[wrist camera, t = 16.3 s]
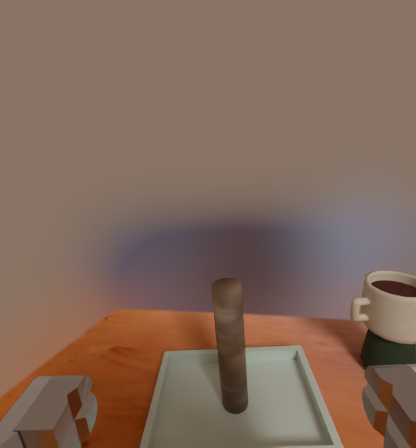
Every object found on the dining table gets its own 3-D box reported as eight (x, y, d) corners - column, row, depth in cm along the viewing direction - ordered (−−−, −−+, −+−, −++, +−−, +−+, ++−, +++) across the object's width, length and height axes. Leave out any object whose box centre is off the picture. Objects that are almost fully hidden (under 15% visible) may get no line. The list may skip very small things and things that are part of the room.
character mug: (407, 345, 39) (419, 266, 36) (449, 387, 32) (469, 294, 29) (334, 351, 39) (338, 273, 36) (361, 393, 33) (370, 302, 29)
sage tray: (140, 475, 26) (136, 458, 26) (166, 364, 40) (164, 351, 39) (344, 472, 25) (346, 454, 24) (300, 359, 38) (300, 345, 38)
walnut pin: (222, 414, 31) (210, 294, 26) (221, 390, 34) (211, 279, 29) (249, 413, 31) (242, 292, 26) (246, 389, 34) (240, 277, 29)
